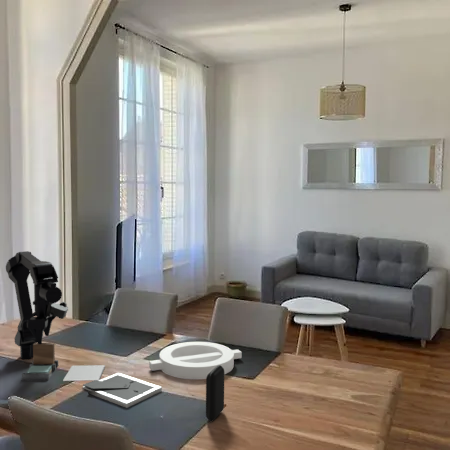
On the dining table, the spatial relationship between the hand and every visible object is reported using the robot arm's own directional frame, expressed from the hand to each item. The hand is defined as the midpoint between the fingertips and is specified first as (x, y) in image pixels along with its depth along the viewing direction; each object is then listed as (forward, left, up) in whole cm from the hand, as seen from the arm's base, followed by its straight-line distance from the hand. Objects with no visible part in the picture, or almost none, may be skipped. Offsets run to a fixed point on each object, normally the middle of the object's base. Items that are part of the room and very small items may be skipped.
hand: (43, 339), depth 186 cm
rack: (+4, 0, -11) cm, 12 cm away
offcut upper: (+6, 0, -9) cm, 11 cm away
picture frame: (+19, +31, -12) cm, 38 cm away
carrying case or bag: (+38, +61, -12) cm, 73 cm away
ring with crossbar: (-4, +56, -12) cm, 57 cm away
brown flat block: (0, 0, -10) cm, 10 cm away
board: (+5, +16, -11) cm, 20 cm away
